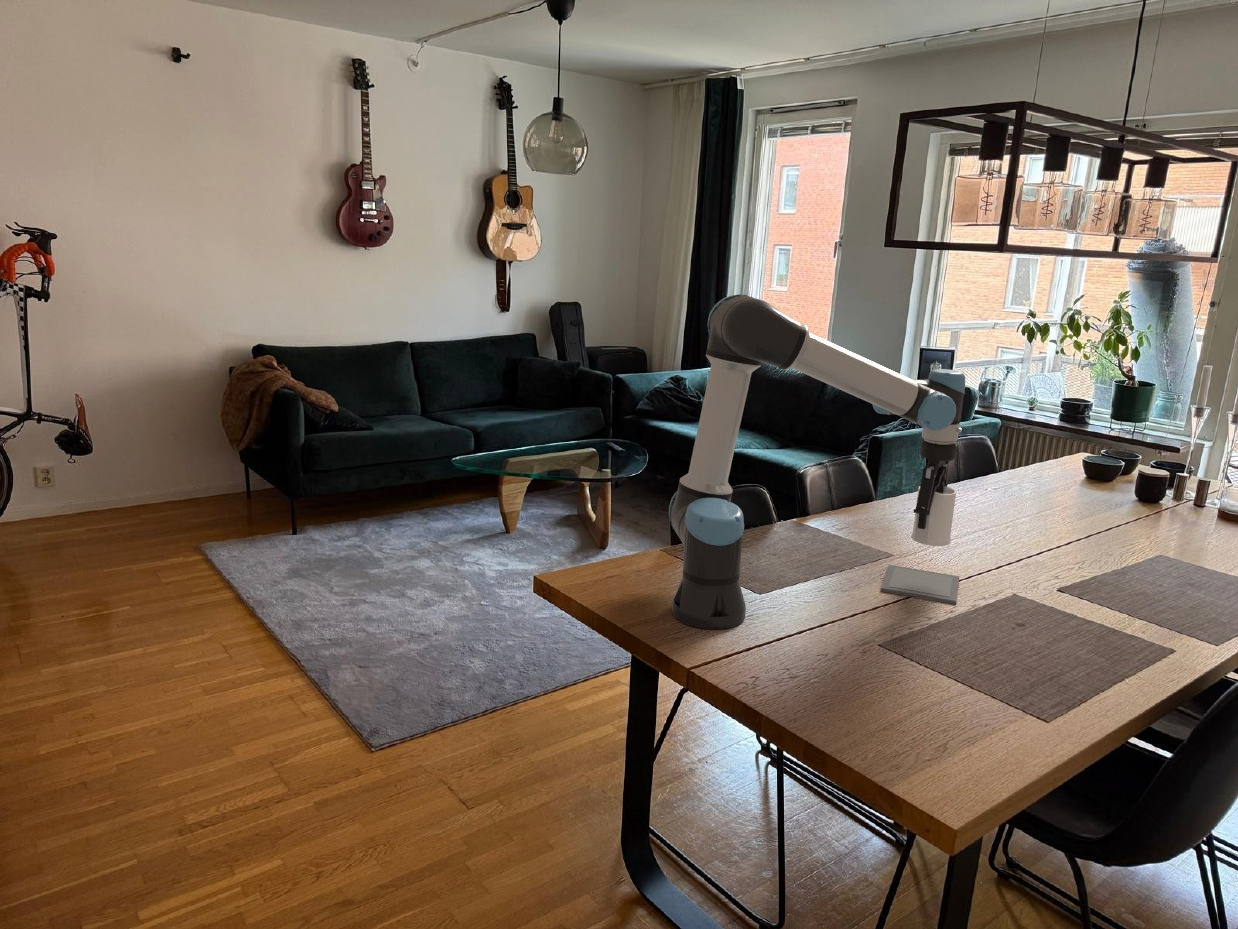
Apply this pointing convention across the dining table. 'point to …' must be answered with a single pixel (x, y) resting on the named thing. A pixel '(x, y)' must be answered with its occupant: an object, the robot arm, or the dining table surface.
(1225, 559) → the dining table surface
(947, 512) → the mug
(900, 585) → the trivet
